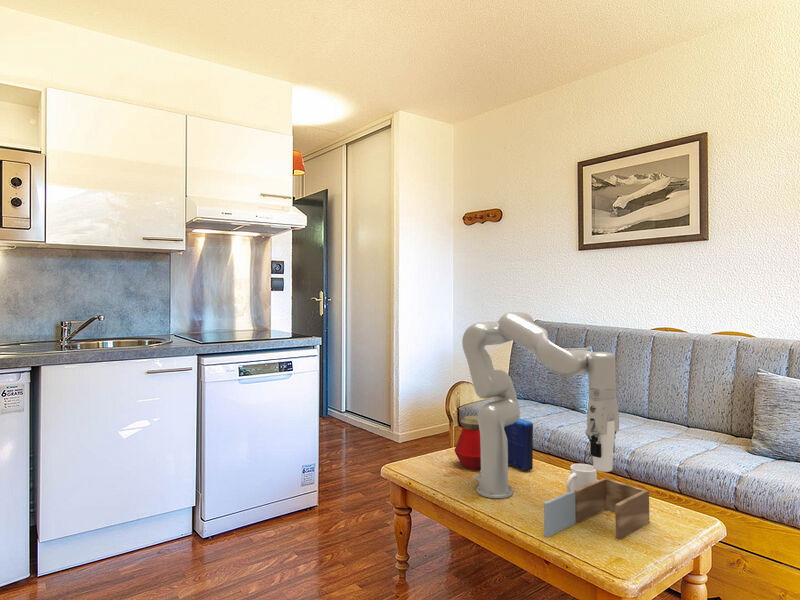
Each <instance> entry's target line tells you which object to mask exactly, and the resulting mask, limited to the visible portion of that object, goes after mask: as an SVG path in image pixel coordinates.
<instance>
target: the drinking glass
mask: <svg viewBox="0 0 800 600" xmlns="http://www.w3.org/2000/svg"><path fill="white" fill-rule="evenodd" d="M593 432H597V430H596V428H595V427H594V429H593ZM593 435H594V436H595V437H596V438H597V435H596V434H593ZM600 436H601V439H600V443H599V444H601V458H598V457H594V456H592V466H593V468H594V469H595V470H596V471H597V472H603V473H609V472H612V471H613V469H614V467H613V462H614V461H613V459H614V453H613V450H614V438H615V437H616V434H615V423H614V420H613V421H609V422H607V434H606V435H601V434H600ZM615 439H616V438H615Z"/></svg>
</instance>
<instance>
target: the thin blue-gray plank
mask: <svg viewBox="0 0 800 600" xmlns="http://www.w3.org/2000/svg"><path fill="white" fill-rule="evenodd" d="M573 525H576V521H575V492H574V491H571V492H566V493H564V494H561V495H559V496H556V497H554V498H552V499H549V500H547V501H544V502H543V537H545V538H549V537H551V536H553V535H556V534H557V533H559V532H561V531H564V530H565V529H567V528H569V527H572V526H573Z"/></svg>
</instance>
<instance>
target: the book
mask: <svg viewBox="0 0 800 600" xmlns="http://www.w3.org/2000/svg"><path fill="white" fill-rule="evenodd" d="M504 430H505V433H506V436H507V441H508V466H510V467H512V468H514V469H517V470H520V471H524V472H527V471H531V470H533V469H534V467H533V465H534V464H533V461H534V460H533V459H534V457H533V456H534V443H533V442H534V439H533V438H534V437H533V436H534V423H533V422H532V421H531V420H527V419H524V418H523V419H522V418H519V419H518V421H517V422H515V423H514V424H512V425H509V426H506V427H504Z"/></svg>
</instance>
